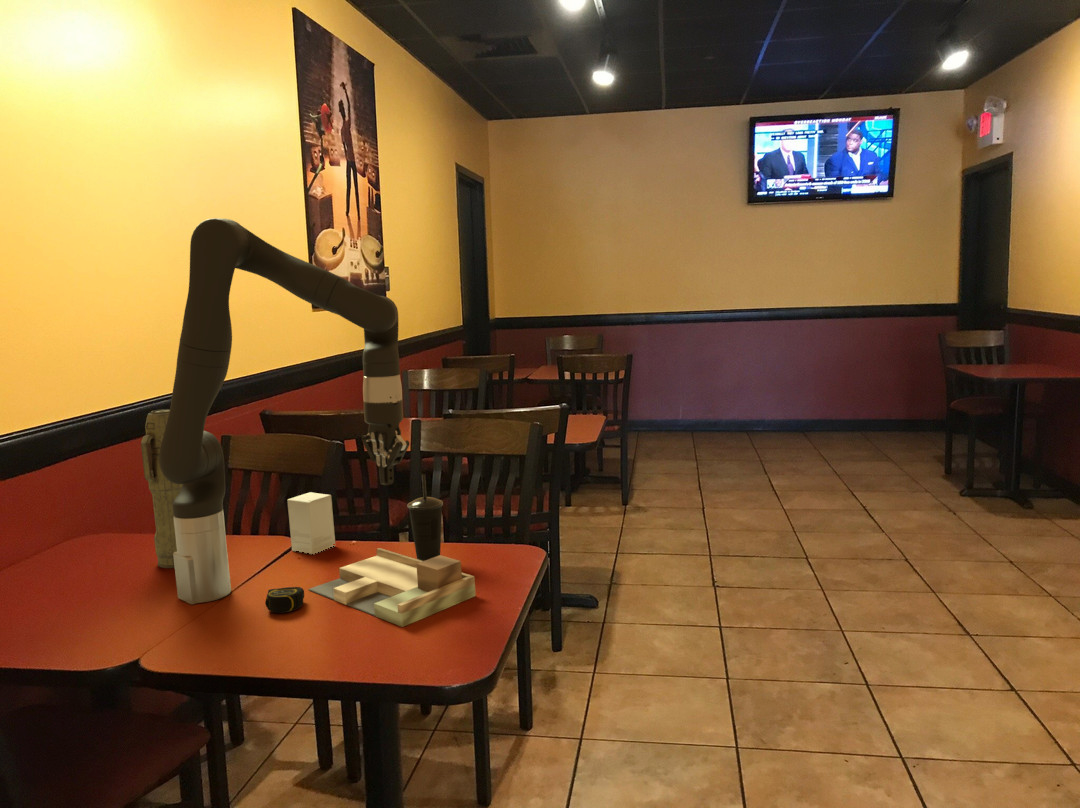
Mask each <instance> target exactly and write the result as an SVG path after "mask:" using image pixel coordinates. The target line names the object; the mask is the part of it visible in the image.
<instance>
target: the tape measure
mask: <svg viewBox="0 0 1080 808" xmlns="http://www.w3.org/2000/svg"><path fill="white" fill-rule="evenodd" d="M304 599H305V589H304V588H303V587H301V586H289V587H280V588H279V587H278V588H272V589H271V588H270V589H268V590H267V594H266V598H265V602H264V604H265V607H266V608H267V609H268V611H270V612H272V613H280V614H281V613H289V612H292V611H295V610H298V609H299V608H301V607H302V606H303V604H304Z"/></svg>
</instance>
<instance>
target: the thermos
mask: <svg viewBox="0 0 1080 808" xmlns="http://www.w3.org/2000/svg"><path fill="white" fill-rule="evenodd" d="M169 411H170V408H166V409H165V408H164V409H163V408H162V409H156V410H152V411H150V412H149V413H148V414H147V416H146V419H145V420H146V421H145V425H144V428H145V435H144V436H142V439H141V442H140V448H141V456H142V457H141V458H142V465H143V466H142V467H143V475H144V479H145V481H147V482H148V484H147V485H148V489H149V491H150V493H151V497H152V506H153V514H154V523H155V525H154V526H155V534H154V536H153V537H154V538H153V539H154V547H155V556H156V557H157V566H158V567H159V568H162V569H163V568H164V569H175V566H174V557H173V553H174V552H177V546H176V536H175V527H174V517H173V509H172V504H173V501H174V500H175V498H176V497H177V496H178V494H179V492H180V490H181V488H182V484H175V483H172V482H170V481H169V480H168V479H166V477H165V476H164V475H163V473H162V471H161V469H160V465H159V451H160V446H161V442H162V438H163V435H164V431H165V427H166V423H167V420H168V416H169Z"/></svg>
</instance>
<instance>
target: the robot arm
mask: <svg viewBox="0 0 1080 808" xmlns="http://www.w3.org/2000/svg"><path fill="white" fill-rule="evenodd" d="M236 269H237V270H241V271H245V272H248V273H251V274H254V275H258V276H260V277H262V278H265V279H266V280H269V281H270V282H273V283H274V284H276V285H278V286H279V287H281V288H283V289H284V290H286V291H287V292H289V293H290V294H292V295H294V296H295V297H297V298H299V299H301V300H303V301H305V302H307V303H308V304H311V305H313V306H315V307H317V308H320V309H322V310H324V311H326V312H328V313H329V312H330V313H332V314H335V315H338V316H340V317H341V318H343V319H344V320H347V321H349V322H351V323H352V324H354V325H356V326H358V327H359V328H362V329H363V334H364V335H363V337H364V348H363V352H362V369H363V370H362V371H363V372H362V373H363V381H362V397H363V416H364V422H365V423H366V424H368V427H367V430H368V431H367V432H368V433H367V434H366V435H362V436H361V441H362V444H363V445H364V447H365V450H366V451H367V454H368V456H369V458H370V460H371V461H372V463H374V462H375V463H376V465H377V466H378V475H379V483H380V485H383V486H390V485H392V484H394V481H395V477H394V476H395V474H394V472H395V471H394V466H395V465H398V464H401V462H402V460H403V459H404V456H405V455H406V452H407V451H408V449H409V447H410V441H409V440H408V439H407V440H404V438H403V437H402V431H401V426H400V423H401V422H403V421H404V410H403V409H404V408H403V407H404V406H403V388H402V387H403V386H402V380H401V374H400V373H401V371H400V368H401V367H400V355H399V348H398V347H399V311H398V307H397V305H396V303H395V302H394V301H393V300H392V299H391V298H389V297H388V296H385V295H378V294H376V293H373V292H372V291H368V290H366V289H363V288H361V287H359V286H356V285H354V284H353V283H352V282H351V281H349V280H348V279H346V278H343V277H341V276H339V275H337V274H335V273H333V272H331V271H329V270H326V269H324V268H321V267H319V266H317V265H315V264H312V263H310V262H308V261H305V260H303V259H300V258H298V257H296V256H294V255H292V254H289V253H287V252H285V251H283V250H281V249H279V248H277V247H276V246H274V245H272V244H270V243H269V242H267V241H265V240H263V239H262V238H261V237H259V236H257V235H256V234H254V233H253V232H251V231H250V230H248V229H247V228H246V227H244V226H243V225H241V224H240V223H238V222H237V221H235V220H233V219H229V218H228V219H227V218H218V217H217V218H216V217H213V218H207V219H205V220H202V221H201V222H200V223H199V224H198V225H197V226H196V227H195V228H194V230H193V231H192V234H191V237H190V245H189V276H188V277H189V279H188V280H189V281H188V292H187V298H186V302H185V307H184V313H183V314H184V315H183V320H182V325H181V326H182V328H181V333H180V337H179V341H178V342H179V343H178V351H177V358H176V365H175V366H176V368H175V373H174V374H175V376H174V381H173V389H172V394H171V402H170V405H169V406H170V407H169V409H170V411H169V416H168V420H167V423H166V427H165V431H164V435H163V438H162V442H161V446H160V451H159V465H160V469H161V471H162V473H163V475H164V476H165V477H166V479H168V480H169V481H170V482H172V483H175V484H182V488H181V490H180V492H179V494H178V496H177V497H176V498H175V500H174V501H173V504H172V509H173V517H174V527H175V536H176V546H177V552H174V553H173V557H174V566H175V568H174V572H175V584H176V591H177V598H178V599H179V600H181V601H183V602H185V603H186V604H187V603H188V604H189V605H195V604H200V603H201V604H202V603H207V602H212V601H217V600H219V599H222V598H225V597H226V596H228V595H230V593H231V592H232V586H231V583H232V582H231V574H230V568H229V556H228V546H227V537H226V536H227V535H226V525H225V515H224V505H223V502H224V499H225V495H226V474H225V473H226V470H225V457H224V451H223V447H222V445H221V443H220V441H219V439H218V438H217V437H216V436H215V435H214V434H213V433H211V432H209V431H207V430H205V425H206V420H207V417H208V414H209V411H210V409H211V407H212V405H213V403H214V401H215V399H216V398H217V396H218V394H219V392H220V391H221V389H222V387H223V384H224V382H225V379H226V377H227V374H228V369H229V365H230V359H231V354H232V353H231V352H232V345H233V329H232V328H233V327H232V320H231V311H230V301H229V300H230V293H231V288H232V284H233V278H234V274H235V270H236Z"/></svg>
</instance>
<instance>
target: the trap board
mask: <svg viewBox="0 0 1080 808" xmlns="http://www.w3.org/2000/svg"><path fill="white" fill-rule="evenodd" d="M420 562H422V561H421V560H418V559H417V558H414V557H410V556H408V555H404V554H401V553H397V552H394V551H392V550H388V549H385V548H381V547H379V548H376V555H374V556H372V557H369V558H366V559H362V560H359V561H357V562H353V563H350V564H348V565H344V566H341V567H338V568H339V571H338V572H339V578H336V579H334V580H333V579H332V580H330V581H328V582H324V583H322V584H319V585H316V586H313V587H310V588H308V591H309V592H312V593H315V594H318V595H320V596H322V597H325V598H328V599H330V600H333V601H335V602H338V603H340V604H342V605H345V606H348V607H349V608H353V609H355V610H358V611H361V612H363V613H366V614H368V615H370V616H373V617H375V618H379V619H381V620H383V621H386V622H389V623H390V624H394V625H396V626H399V627H402V628H404V627H406V626H408V625H410V624H413V623H416V622H418V621H421V620H422V619H425V618H427V617H430V616H432V615H434V614H437V613H439V612H441V611H443V610H446V609H448V608H451V607H453V606H455V605H458V604H460V603H462V602H465V601H468V600H469V599H472V598H475V597H476V582H475V581H476V580H475V579H476V577H475V575H471V574H468V573H464V572H463V571H461V573H462V579H460V580H458V581H455V582H453V583H450V584H448V585H445V586H443V587H440V588H438V589H435V590H433V591H430V592H427V591H424V590H421V589H418V580H417V565H416V564H417V563H420Z"/></svg>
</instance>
